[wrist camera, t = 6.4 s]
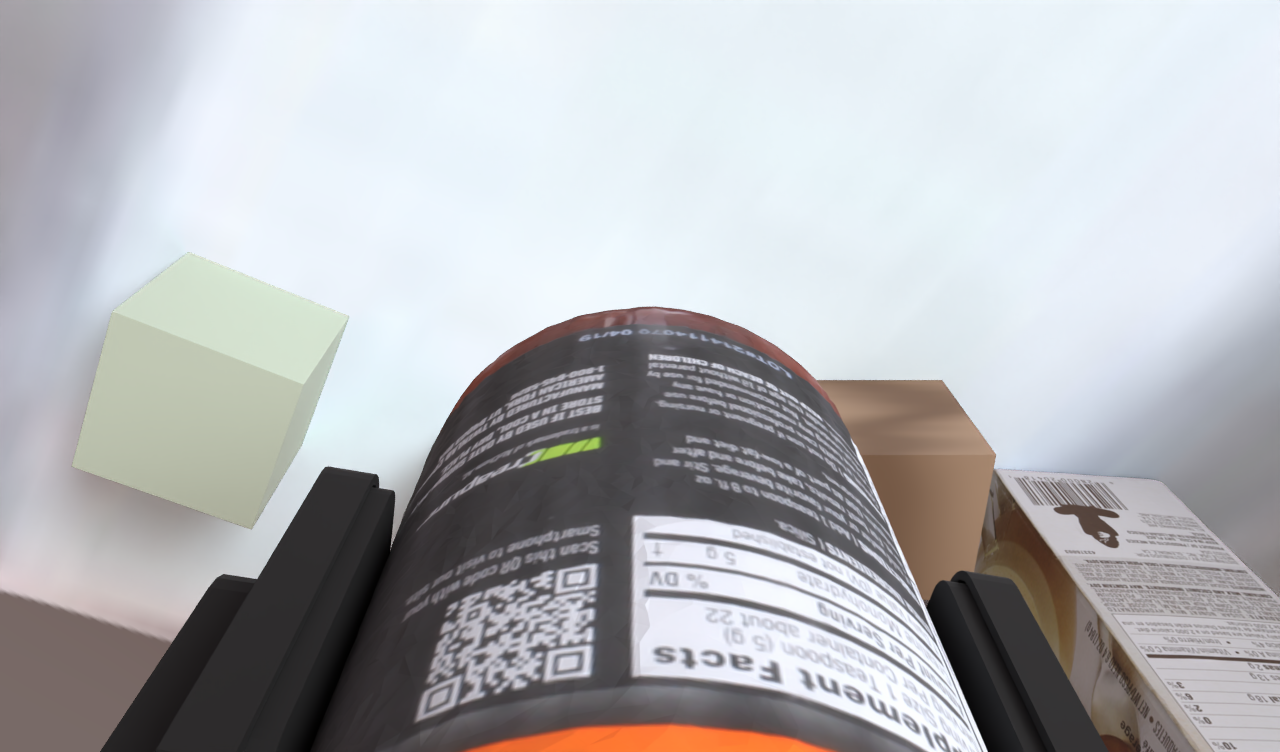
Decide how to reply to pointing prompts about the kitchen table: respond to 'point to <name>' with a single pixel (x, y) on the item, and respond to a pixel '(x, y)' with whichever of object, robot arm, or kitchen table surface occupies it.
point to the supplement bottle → (646, 565)
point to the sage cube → (207, 388)
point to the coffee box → (1140, 610)
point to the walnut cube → (921, 469)
